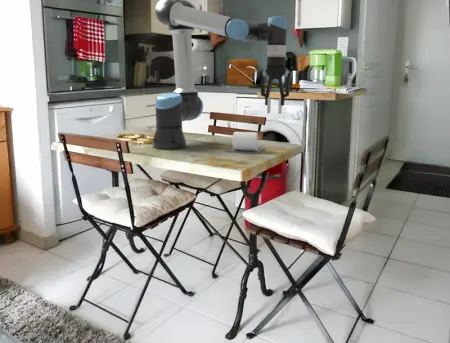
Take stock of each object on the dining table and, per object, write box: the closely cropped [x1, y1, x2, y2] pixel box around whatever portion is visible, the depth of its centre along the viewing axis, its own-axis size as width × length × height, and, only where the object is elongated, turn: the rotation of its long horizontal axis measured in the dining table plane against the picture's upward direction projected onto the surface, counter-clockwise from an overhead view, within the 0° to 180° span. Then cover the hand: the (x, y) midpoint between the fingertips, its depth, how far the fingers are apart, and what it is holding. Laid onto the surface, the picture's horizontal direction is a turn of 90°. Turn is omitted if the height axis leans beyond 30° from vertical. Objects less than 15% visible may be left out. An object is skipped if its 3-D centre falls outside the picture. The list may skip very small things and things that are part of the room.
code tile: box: [225, 147, 266, 155], centre depth 196 cm, size 14×14×1 cm
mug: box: [232, 131, 259, 151], centre depth 196 cm, size 12×10×8 cm
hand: (274, 113), depth 189 cm, fingers open, 4 cm apart
